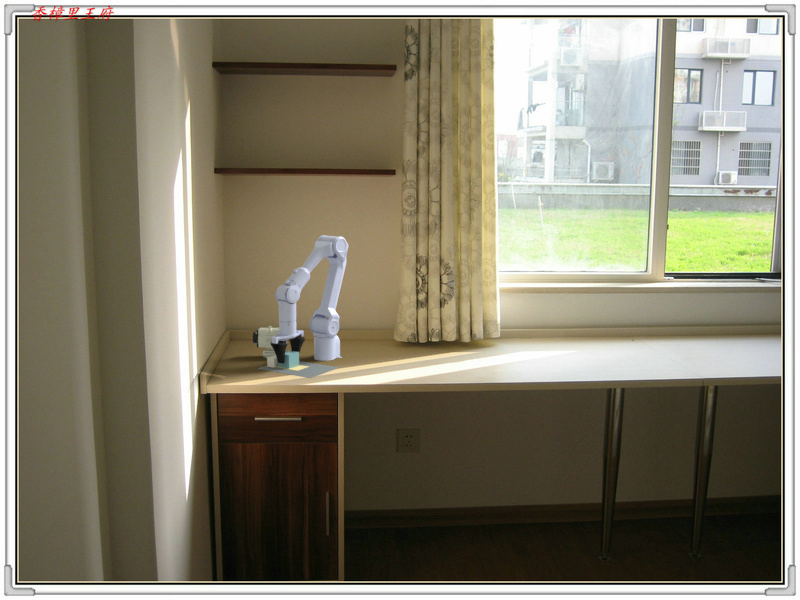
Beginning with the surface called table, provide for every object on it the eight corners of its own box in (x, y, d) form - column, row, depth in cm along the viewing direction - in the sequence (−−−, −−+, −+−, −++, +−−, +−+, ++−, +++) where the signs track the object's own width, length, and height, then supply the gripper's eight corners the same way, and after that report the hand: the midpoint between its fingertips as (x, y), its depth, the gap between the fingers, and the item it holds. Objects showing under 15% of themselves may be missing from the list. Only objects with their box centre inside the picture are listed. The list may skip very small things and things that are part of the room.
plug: (288, 363, 237) (288, 350, 236) (299, 365, 235) (299, 352, 234) (278, 366, 232) (278, 353, 232) (289, 368, 230) (288, 355, 229)
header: (282, 361, 240) (282, 352, 239) (296, 364, 237) (296, 355, 236) (267, 366, 233) (267, 357, 232) (281, 368, 230) (281, 359, 230)
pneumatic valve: (255, 357, 249) (254, 324, 247) (287, 357, 249) (287, 324, 248) (252, 361, 243) (251, 327, 242) (286, 361, 244) (285, 327, 242)
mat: (287, 361, 244) (287, 358, 244) (339, 369, 233) (339, 367, 233) (257, 370, 230) (257, 368, 230) (310, 380, 219) (310, 377, 219)
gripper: (291, 316, 239) (292, 354, 242) (263, 323, 227) (264, 363, 229) (308, 318, 236) (308, 357, 238) (280, 325, 224) (281, 366, 226)
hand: (288, 360), depth 233 cm, fingers open, 7 cm apart
